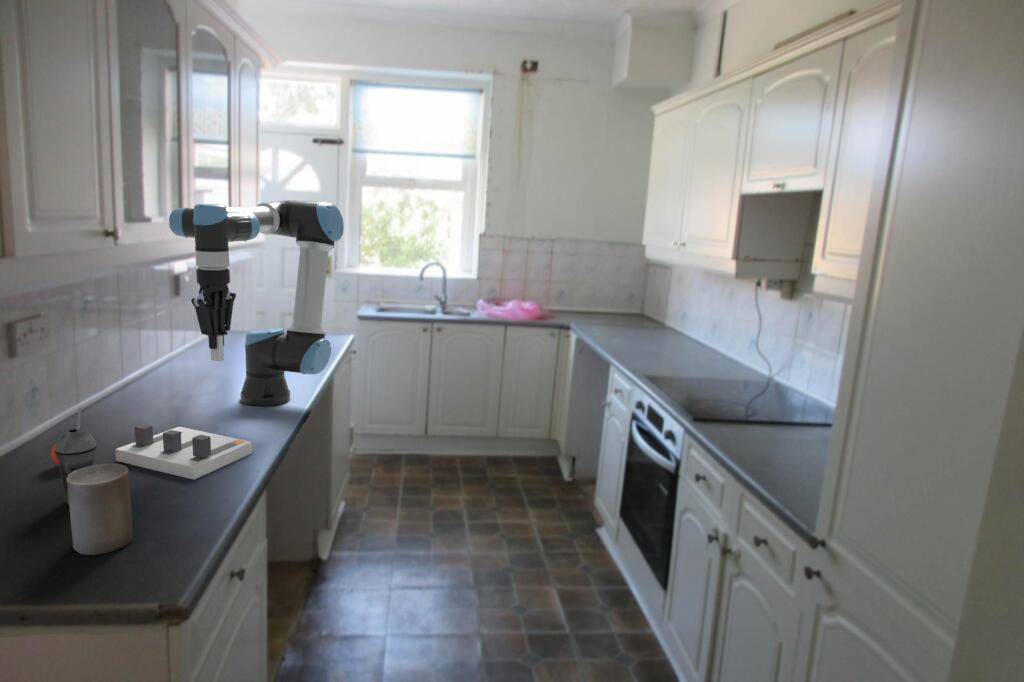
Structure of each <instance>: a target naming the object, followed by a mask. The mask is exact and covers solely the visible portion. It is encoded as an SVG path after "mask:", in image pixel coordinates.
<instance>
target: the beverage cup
mask: <svg viewBox="0 0 1024 682" xmlns="http://www.w3.org/2000/svg"><path fill="white" fill-rule="evenodd" d="M81 414H82V408H81V407H78V408H77V420H76V428H72V429H69V430H66V431H65V432H63V433H62V434H61V435H60V436H59V437H58V439H57V440H56V442H55V444H56V446H55V451H54V452H55V453H56V457H57V460H58V462H59V465H58V466H59V472H60V477H61V482H62V487H63V492H64V497H65V500H66V504H67V505H68V506H69V497H68V486H67V479H66V478H67V477H68V475H69V474H70V473H72V472H73V471H76V470H79V469H81V468H84V467H88V466H93V465H95V457H96V452H97V447H98V446H97V444H96V440H95V438H94V436H93V435H92V434H91V433H90V432H89V431H87V430H85V429H82V428H81V417H82V415H81Z"/></svg>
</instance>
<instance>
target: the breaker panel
mask: <svg viewBox="0 0 1024 682" xmlns="http://www.w3.org/2000/svg"><path fill="white" fill-rule="evenodd" d="M153 430H154V428H153V425H150V424H146V423H142V424H138V425H136V426H134V439H135V440H134V442H131V443H128V444H125V445H123V446H120V447H117V448H115V461H116V462H119V463H124V464H128V465H133V466H136V467H141V468H145V469H148V470H152V471H155V472H156V471H157V472H160V473H164V474H168V475H169V474H170V475H172V476H173V475H174V476H177V477H182V478H185V479H190V480H194V481H195V480H196V479H199V478H200V477H201V478H202V477H203V476H206V475H207V474H210V473H211V472H214V471H216V470H219V469H221V468H223V467H224V466H227V465H229V464H232V463H235V462H236V461H238V460H240V459H242V458H244V457H247V456H249V455H252V454H253V442H252V441H250V440H244V439H240V438H236V437H231V436H226V435H221V434H217V433H216V434H215V433H212V432H207V431H202V430H196V429H192V428H188V427H183V426H177V427H174V428H171V429H168V430H165V431H162V432H160V433H157V434H154V431H153ZM198 435H205V436H210V437H211V455H209V456H207V457H204V458H201V457H196V456H193V442H192V438H193V437H196V436H198Z"/></svg>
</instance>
